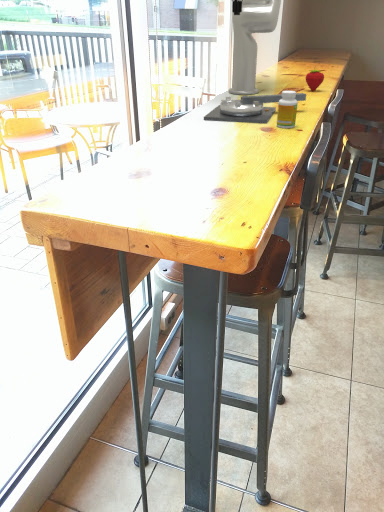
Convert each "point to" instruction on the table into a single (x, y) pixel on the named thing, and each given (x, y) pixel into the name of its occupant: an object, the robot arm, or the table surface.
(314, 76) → the strawberry
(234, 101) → the grey disc with handle
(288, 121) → the supplement bottle
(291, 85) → the table surface
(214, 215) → the table surface
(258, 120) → the plate
